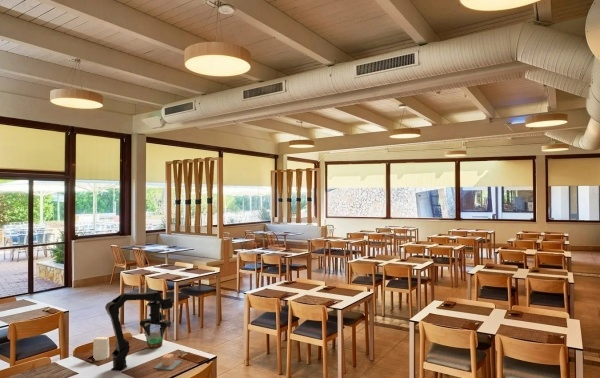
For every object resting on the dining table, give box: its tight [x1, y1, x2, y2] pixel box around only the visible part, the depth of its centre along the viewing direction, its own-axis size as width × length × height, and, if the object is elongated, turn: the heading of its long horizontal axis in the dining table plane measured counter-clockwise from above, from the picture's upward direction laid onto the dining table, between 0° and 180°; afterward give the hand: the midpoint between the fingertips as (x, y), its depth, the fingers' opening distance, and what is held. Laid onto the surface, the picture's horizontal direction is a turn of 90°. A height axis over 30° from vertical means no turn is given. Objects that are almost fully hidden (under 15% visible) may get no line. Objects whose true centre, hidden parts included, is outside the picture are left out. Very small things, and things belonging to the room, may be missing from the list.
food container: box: [144, 331, 164, 350], centre depth 268 cm, size 12×6×10 cm, turn 112°
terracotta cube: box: [161, 353, 175, 366], centre depth 241 cm, size 5×5×5 cm
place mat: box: [153, 359, 184, 371], centre depth 241 cm, size 12×12×1 cm
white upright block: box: [92, 336, 110, 361], centre depth 254 cm, size 9×9×12 cm
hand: (155, 336), depth 252 cm, fingers open, 9 cm apart
